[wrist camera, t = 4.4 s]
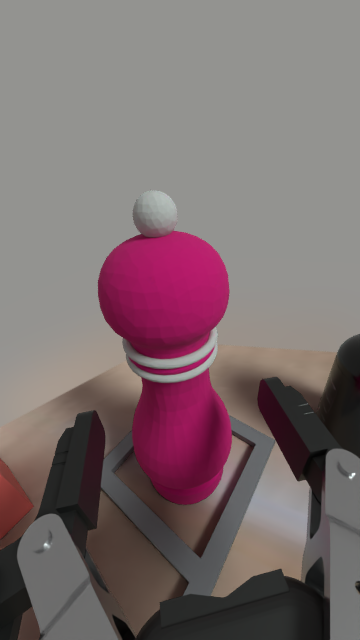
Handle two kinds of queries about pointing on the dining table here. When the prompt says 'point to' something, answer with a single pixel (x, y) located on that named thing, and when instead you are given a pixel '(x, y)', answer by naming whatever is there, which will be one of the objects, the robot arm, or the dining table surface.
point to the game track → (181, 557)
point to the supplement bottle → (343, 397)
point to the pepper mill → (171, 348)
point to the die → (11, 500)
